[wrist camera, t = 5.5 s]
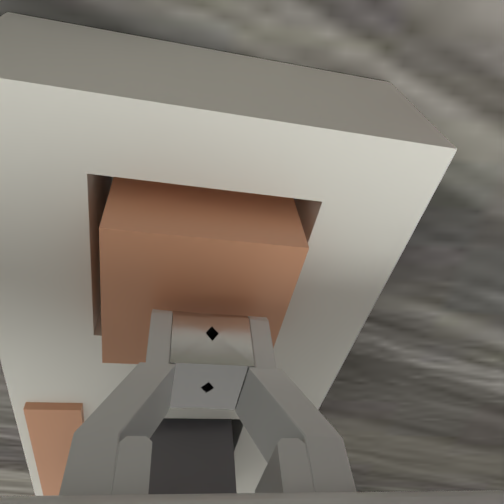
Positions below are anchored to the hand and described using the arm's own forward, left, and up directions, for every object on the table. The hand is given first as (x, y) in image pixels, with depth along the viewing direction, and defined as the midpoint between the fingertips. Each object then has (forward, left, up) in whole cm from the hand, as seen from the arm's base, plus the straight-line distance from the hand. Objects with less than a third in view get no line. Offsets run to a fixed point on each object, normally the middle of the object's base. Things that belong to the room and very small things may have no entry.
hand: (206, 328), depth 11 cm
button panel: (-9, +6, -7) cm, 13 cm away
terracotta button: (0, 0, -6) cm, 6 cm away
